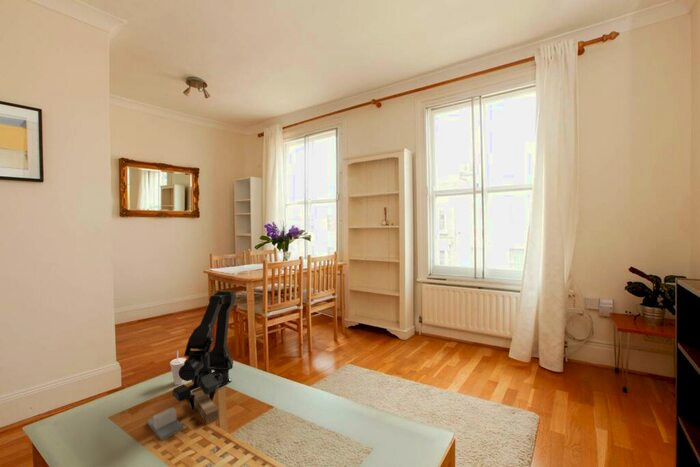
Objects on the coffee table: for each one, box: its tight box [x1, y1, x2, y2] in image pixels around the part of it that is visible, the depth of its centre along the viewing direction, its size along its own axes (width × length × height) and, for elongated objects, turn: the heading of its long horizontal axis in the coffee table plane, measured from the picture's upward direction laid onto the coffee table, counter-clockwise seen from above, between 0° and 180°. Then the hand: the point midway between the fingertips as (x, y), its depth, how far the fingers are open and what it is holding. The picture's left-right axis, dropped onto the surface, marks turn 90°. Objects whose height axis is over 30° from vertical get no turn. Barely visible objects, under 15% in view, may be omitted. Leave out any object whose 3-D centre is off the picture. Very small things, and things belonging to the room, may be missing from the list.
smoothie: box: [169, 350, 188, 386], centre depth 136 cm, size 6×6×14 cm
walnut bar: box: [192, 389, 219, 425], centre depth 119 cm, size 16×4×4 cm, turn 43°
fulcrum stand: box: [146, 406, 185, 441], centre depth 110 cm, size 12×7×5 cm, turn 52°
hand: (202, 405), depth 120 cm, fingers open, 7 cm apart
